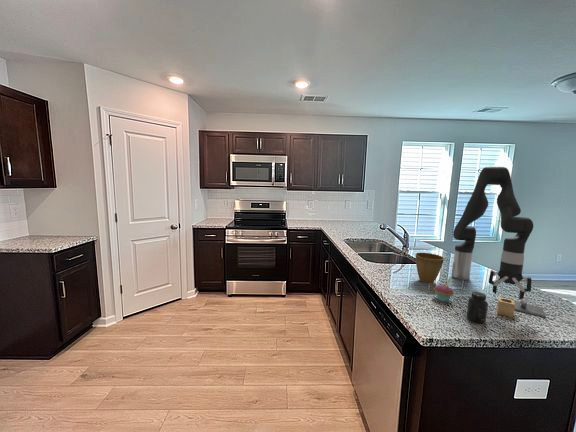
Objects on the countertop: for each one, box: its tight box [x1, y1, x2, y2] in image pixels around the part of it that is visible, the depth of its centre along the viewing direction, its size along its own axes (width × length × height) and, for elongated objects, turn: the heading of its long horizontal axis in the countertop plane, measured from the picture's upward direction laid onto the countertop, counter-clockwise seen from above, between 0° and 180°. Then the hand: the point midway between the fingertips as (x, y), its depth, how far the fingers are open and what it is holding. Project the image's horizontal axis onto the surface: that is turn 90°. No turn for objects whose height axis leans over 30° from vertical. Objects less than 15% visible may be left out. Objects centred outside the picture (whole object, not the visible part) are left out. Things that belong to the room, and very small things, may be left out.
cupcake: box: [433, 277, 455, 302], centre depth 126 cm, size 9×8×12 cm
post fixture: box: [514, 295, 547, 318], centre depth 119 cm, size 14×10×6 cm
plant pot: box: [415, 252, 445, 285], centre depth 149 cm, size 15×15×16 cm
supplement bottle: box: [465, 291, 489, 325], centre depth 106 cm, size 7×7×12 cm
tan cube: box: [496, 296, 515, 318], centre depth 114 cm, size 6×6×6 cm
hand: (507, 296), depth 113 cm, fingers open, 8 cm apart
